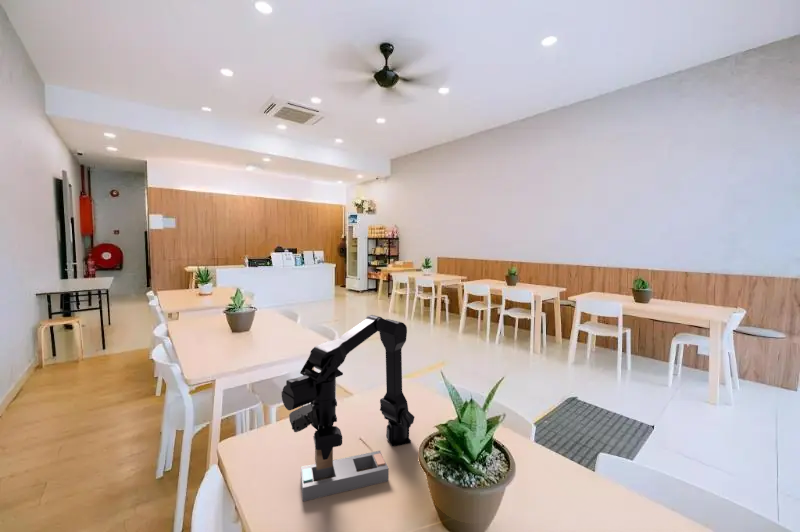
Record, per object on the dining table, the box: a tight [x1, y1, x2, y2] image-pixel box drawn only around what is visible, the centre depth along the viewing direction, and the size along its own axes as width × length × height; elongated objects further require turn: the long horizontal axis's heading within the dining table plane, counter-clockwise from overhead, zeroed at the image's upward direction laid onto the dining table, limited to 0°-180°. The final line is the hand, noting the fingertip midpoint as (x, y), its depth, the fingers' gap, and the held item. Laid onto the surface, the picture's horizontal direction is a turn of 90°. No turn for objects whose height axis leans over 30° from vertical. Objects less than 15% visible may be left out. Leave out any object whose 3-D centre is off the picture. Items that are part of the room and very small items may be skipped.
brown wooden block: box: [314, 430, 334, 470], centre depth 86 cm, size 4×4×8 cm
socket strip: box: [300, 450, 390, 502], centre depth 88 cm, size 22×8×4 cm, turn 110°
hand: (324, 453), depth 86 cm, fingers closed on brown wooden block, 4 cm apart
